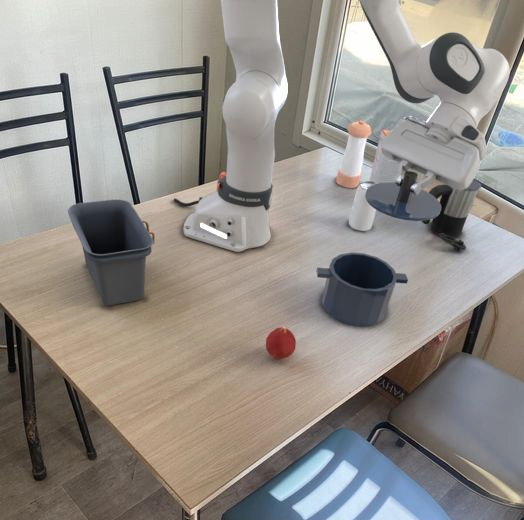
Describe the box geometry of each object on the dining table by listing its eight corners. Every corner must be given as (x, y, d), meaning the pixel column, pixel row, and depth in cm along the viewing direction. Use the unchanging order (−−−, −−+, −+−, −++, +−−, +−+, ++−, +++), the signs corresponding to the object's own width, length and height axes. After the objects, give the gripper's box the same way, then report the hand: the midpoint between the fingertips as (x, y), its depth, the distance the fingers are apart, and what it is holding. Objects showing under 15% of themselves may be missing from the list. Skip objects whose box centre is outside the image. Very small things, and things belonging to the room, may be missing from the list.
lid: (358, 184, 115) (365, 154, 110) (427, 190, 116) (437, 160, 112) (372, 220, 103) (380, 188, 99) (449, 226, 105) (461, 195, 101)
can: (370, 233, 146) (382, 193, 138) (347, 229, 147) (357, 188, 139) (371, 223, 151) (383, 183, 143) (349, 218, 151) (359, 178, 143)
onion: (260, 349, 106) (264, 318, 101) (287, 346, 108) (293, 315, 103) (268, 369, 102) (273, 338, 97) (296, 365, 104) (303, 335, 99)
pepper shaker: (363, 186, 168) (378, 124, 156) (344, 189, 165) (359, 126, 153) (349, 176, 173) (363, 115, 160) (331, 179, 170) (344, 117, 157)
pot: (307, 284, 125) (314, 249, 119) (388, 289, 127) (400, 255, 121) (314, 323, 114) (322, 287, 108) (403, 329, 116) (416, 294, 110)
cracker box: (408, 201, 164) (430, 133, 150) (412, 211, 159) (435, 141, 145) (363, 197, 163) (381, 127, 149) (367, 206, 158) (385, 136, 144)
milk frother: (444, 219, 158) (463, 171, 148) (486, 246, 148) (508, 197, 138) (410, 228, 151) (427, 179, 141) (451, 257, 142) (472, 206, 132)
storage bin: (72, 261, 121) (63, 203, 112) (139, 250, 127) (136, 195, 118) (95, 317, 108) (87, 257, 98) (168, 302, 114) (168, 245, 104)
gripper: (401, 104, 108) (360, 160, 109) (491, 139, 98) (445, 201, 99) (407, 122, 114) (368, 176, 115) (493, 157, 104) (450, 216, 105)
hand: (405, 188), depth 107 cm, fingers closed on lid, 2 cm apart
